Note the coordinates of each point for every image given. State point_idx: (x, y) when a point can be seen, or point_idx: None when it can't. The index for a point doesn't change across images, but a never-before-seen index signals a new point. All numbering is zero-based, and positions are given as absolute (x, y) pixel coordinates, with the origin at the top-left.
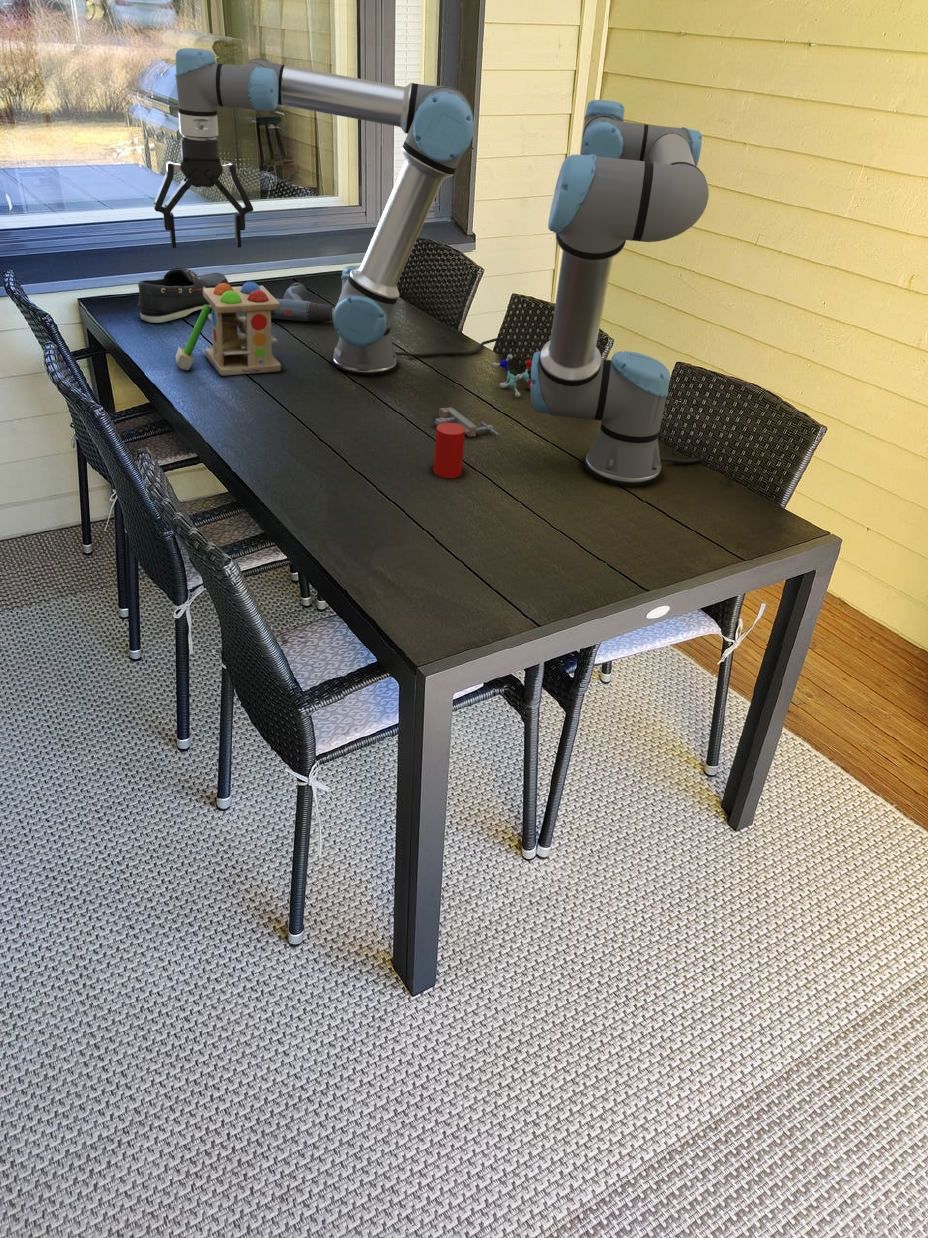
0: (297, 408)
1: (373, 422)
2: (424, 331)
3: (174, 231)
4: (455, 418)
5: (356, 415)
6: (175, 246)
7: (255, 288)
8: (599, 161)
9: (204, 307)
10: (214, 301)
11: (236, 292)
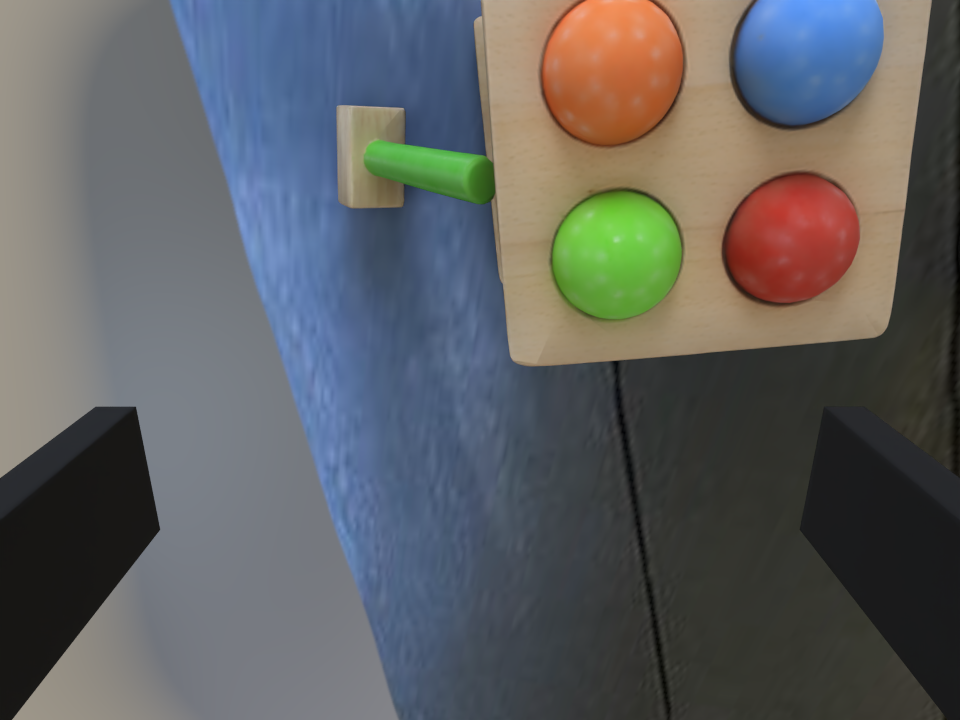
0: (677, 555)
1: (848, 663)
2: None
3: (56, 657)
4: None
5: (824, 619)
6: (147, 538)
7: (836, 106)
8: None
9: (460, 193)
10: (512, 270)
11: (696, 76)
